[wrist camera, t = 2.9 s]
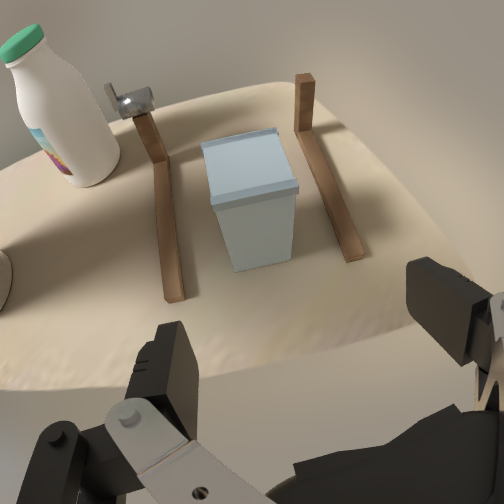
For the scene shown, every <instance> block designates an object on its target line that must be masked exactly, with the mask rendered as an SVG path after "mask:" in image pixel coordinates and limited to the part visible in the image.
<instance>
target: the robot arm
mask: <svg viewBox="0 0 504 504" xmlns="http://www.w3.org/2000/svg"><path fill="white" fill-rule="evenodd" d="M11 281H12V268H11V263H10V260H9V258H8V256H7V255H6V254H5V253H3V252H2V251H1V250H0V310H1V309H2V307H3V305H4V303H5V302H6V299H7V297H8V294H9V290H10V287H11ZM406 304H407V308H408V311H409V313H410V315H411V316H412V317H413V318H414V319H415V320H416V321H417V322H418V323H419V324H420V325H421V326H422V327H423V328H424V329H425V330H426V331H427V332H428V333H429V334H430V335H431V336H432V337H433V338H434V339H435V340H436V341H437V342H438V343H439V344H440V345H441V346H442V347H443V348H444V350H446V351H447V353H448V354H449V355H451V357H452V358H453V359H454V360H455V361H456V362H457V363H458V364H459V365H460V366H461V367H462V366H464V365H466V364H468V363H470V362H472V361H473V360H474V361H475V362H476V363H477V367H476V373H475V374H476V375H475V404H474V405H475V406H474V411H469V412H463V413H461V412H460V411H459V410H458V408H457V407H456V406H455V405H454V404H452V405H450V406H448V407H446V408H444V409H442V410H440V411H438V412H436V413H434V414H432V415H430V416H428V417H426V418H424V419H422V420H420V421H418V422H417V423H416V424H414V425H413V426H412V427H410V428H409V429H407V431H405V432H403V433H402V434H401V435H399V436H398V437H396V438H395V439H393V440H392V441H390V442H389V443H387V444H385V445H382V446H376V447H370V448H363V449H356V450H347V451H338V452H335V453H331V454H328V455H324V456H321V457H317V458H314V459H310V460H306V461H302V462H298V463H294V464H293V466H294V470H295V474H296V475H295V476H293V477H291V478H288V479H287V480H285V481H283V482H281V483H280V484H278V485H276V486H275V487H274V488H272V489H271V490H270V491H269V492H267V493H266V494H265V495H264V494H262V493H261V492H259V491H258V490H256V489H255V488H254V487H253V486H251V485H250V484H249V483H247V482H246V481H245V480H243V479H242V478H241V477H239V476H238V475H237V474H236V473H234V472H233V471H232V470H231V469H229V468H228V467H227V466H226V465H224V464H223V463H222V462H221V461H220V460H218V459H217V458H216V457H215V456H214V455H213V454H211V453H210V452H209V451H208V450H207V449H205V448H204V447H203V446H202V445H201V444H200V443H199V442H197V412H198V411H197V410H198V383H199V370H198V364H197V360H196V357H195V355H194V352H193V349H192V347H191V344H190V342H189V339H188V336H187V334H186V331H185V328H184V326H183V324H182V322H181V321H175V322H170V323H165V324H161V325H158V328H157V332H156V335H155V339H154V341H149V342H147V343H146V344H145V345H144V346H143V347H142V349H141V350H140V351H139V352H138V356H137V359H136V364H135V365H134V368H133V373H132V375H131V378H130V382H129V385H128V388H127V392H126V395H125V399H124V400H123V401H121V402H119V403H117V404H116V405H115V406H113V407H112V408H111V409H110V410H109V412H108V413H107V415H106V418H105V424H102V425H100V426H97V427H94V428H91V429H87V430H84V431H81V432H80V431H79V429H78V428H77V426H76V425H75V424H74V423H72V422H70V421H59V422H55V423H53V424H51V425H50V426H48V427H47V428H46V429H45V430H44V431H43V432H42V433H41V434H40V436H39V439H38V441H37V443H36V446H35V449H34V452H33V455H32V457H31V460H30V463H29V466H28V468H27V472H26V474H25V478H24V480H23V484H22V486H21V490H20V493H19V496H18V500H17V503H16V504H76V502H77V504H126V493H130V492H133V491H136V490H140V489H143V488H146V489H147V490H148V492H149V493H150V494H151V495H152V497H153V498H154V499H155V500H156V502H157V503H158V504H504V292H502V293H497V294H495V295H494V296H493V295H492V294H491V293H489V292H487V291H486V290H484V289H483V288H482V287H480V286H479V285H477V284H476V283H474V282H473V281H470V280H469V279H468V278H466V277H465V276H462V274H460V273H459V272H457V271H455V270H454V269H451V268H448V267H444V266H442V265H440V264H438V263H437V262H435V261H434V260H432V259H430V258H429V257H423V258H420V259H416V260H413V261H410V262H408V264H407V266H406ZM78 492H79V494H78ZM77 497H78V500H77Z"/></svg>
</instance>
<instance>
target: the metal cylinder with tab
mask: <svg viewBox="0 0 504 504" xmlns="http://www.w3.org/2000/svg"><path fill="white" fill-rule="evenodd" d="M104 90H105V91H106V94H107V96H108V98H109V100H110V102H111V104H112V106H113V108H114V110H115V112H116V111H119V113H120V116H121V118H122V119H123V120H125V119H128V118H131V117H134V116H138V115H141V114H144V113H147V112H151V111H154V110H155V102H154V98H153V94H152V91H151V89H150V87H146V88H142V89H139V90H136V91H133V92H130V93H127V94H124V95H121V96H118V97H117V96H116V93H115V91H114V89H113V86H112V84H111V83H108V84H105V85H104Z"/></svg>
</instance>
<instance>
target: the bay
mask: <svg viewBox="0 0 504 504" xmlns="http://www.w3.org/2000/svg"><path fill="white" fill-rule="evenodd" d="M295 81H296V82H295V117H294V132H295V134H296V136H297V138H298V141H299V143H300V145H301V148H302V150H303V152H304V155H305V157H306V159H307V162H308V164H309V166H310V169H311V171H312V174H313V176H314V178H315V181H316V183H317V186H318V188H319V191H320V193H321V196H322V198H323V201H324V204H325V206H326V209H327V211H328V214H329V216H330V219H331V222H332V224H333V227H334V230H335V232H336V235H337V238H338V241H339V243H340V246H341V249H342V252H343V255H344V257H345V260H346V263H347V262H351V261H355V260H359V259H362V257H363V255H364V254H365V253H364V250H363V248H362V245H361V242H360V240H359V237H358V235H357V232H356V230H355V227H354V225H353V222H352V220H351V217H350V215H349V212H348V210H347V208H346V205H345V203H344V200H343V198H342V196H341V193H340V191H339V189H338V186H337V184H336V182H335V180H334V177H333V175H332V173H331V171H330V168H329V166H328V164H327V162H326V160H325V157H324V155H323V153H322V151H321V149H320V147H319V145H318V143H317V140H316V138H315V136H314V134H313V132H312V130H311V128H312V117H313V105H314V93H315V80H314V78H313V77H312V75H311V74H310V73H306V74H297V75H296V80H295ZM133 122H134V124H135V126H136V128H137V130H138V132H139V135H140V137H141V139H142V141H143V143H144V145H145V147H146V149H147V152H148V154H149V156H150V158H151V160H152V162H153V164H154V186H155V204H156V218H157V231H158V243H159V254H160V264H161V273H162V282H163V291H164V299H165V300H166V301H167V302H168V303H174V302H179V301H184V300H185V296H184V289H183V282H182V275H181V268H180V260H179V253H178V245H177V236H176V228H175V219H174V209H173V199H172V189H171V178H170V166H169V157H168V154H167V152H166V150H165V147H164V145H163V142H162V140H161V137H160V135H159V133H158V130H157V128H156V125H155V123H154V120H153V118H152V115H151V113H150V112H147V113H144V114H141V115H138V116H134V117H133Z"/></svg>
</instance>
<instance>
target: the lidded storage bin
mask: <svg viewBox="0 0 504 504" xmlns="http://www.w3.org/2000/svg"><path fill="white" fill-rule="evenodd" d="M200 145H201V150H202V153H203V157H204V159H205V165H206V170H207V176H208V182H209V187H210V193H211V197H210V202H211V207H212V210H213V213H214V212H215V213H216V216H217V219H218V222H219V225H220V228H221V232H222V235H223V238H224V241H225V244H226V247H227V250H228V253H229V256H230V259H231V262H232V265H233V268H234V271H235V273H236V272H241V271H245V270H249V269H254V268H258V267H262V266H267V265H271V264H275V263H280V262H284V261H288V260H291V251H292V240H293V228H294V216H295V204H296V194H298V192H299V185H298V182H297V180H296V179H294V176H293V173H292V171H291V168H290V165H289V163H288V160H287V158H286V155H285V152H284V150H283V147H282V145H281V142H280V139H279V133H278V130H277V128H276V127H274V128H269V129H263V130H258V131H253V132H248V133H243V134H238V135H233V136H229V137H224V138H219V139H215V140H211V141H206V142H202V143H200Z"/></svg>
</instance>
